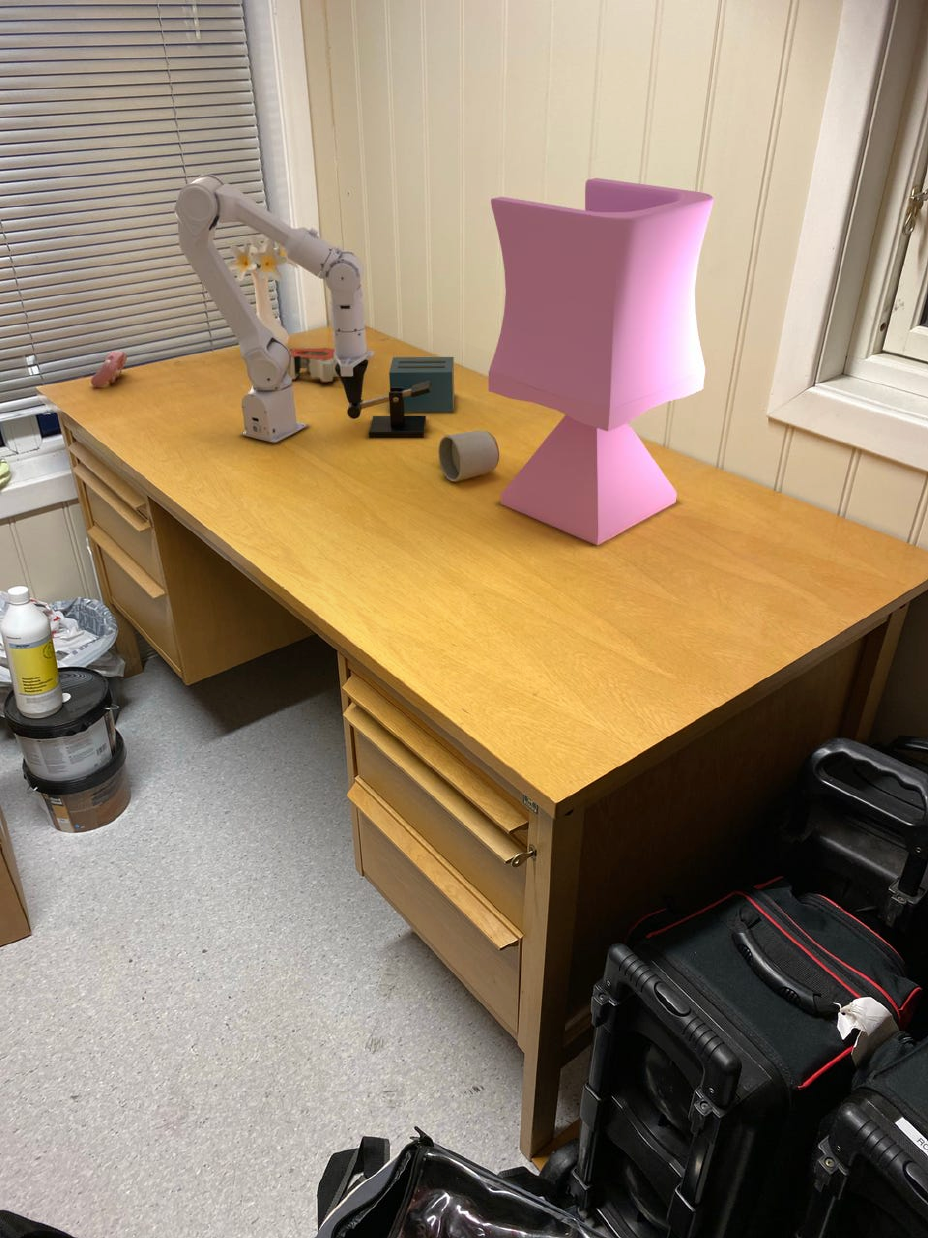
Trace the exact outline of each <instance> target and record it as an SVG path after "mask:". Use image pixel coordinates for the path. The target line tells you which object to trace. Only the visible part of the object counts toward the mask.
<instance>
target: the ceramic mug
mask: <svg viewBox="0 0 928 1238" xmlns="http://www.w3.org/2000/svg"><path fill="white" fill-rule="evenodd" d="M437 454H438V461H439V462H438V463H439V466H440V468H441V471H442V473H443V474H444V476H445V477H446V479H447V480H448V481H451V482H454V483H456V482H459V481H463V480H467V479H471V478H474V477H477V476H482V475H486V474H488V473H491V472H492V471H494V470H496V468H497V466H498V464H499V461H500V449H499V445H498V441H497V440H496V438H495V436H494V435H493V434H492V433H491V432H490V431H488V430H472V431H467V432H459V433H452V434H446V435H444V436H442V438H441V439H440V440H439V443H438V450H437Z"/></svg>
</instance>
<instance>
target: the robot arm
mask: <svg viewBox="0 0 928 1238" xmlns="http://www.w3.org/2000/svg"><path fill="white" fill-rule="evenodd" d="M173 211H174V214H175V217H176V223H177V234H178V244H179V247H180V250H181V252H182V254H183V255H184V257H185V259H186V260H187V262H188V263H189V265H190V267H191V268H192V269H193V271H194V273H195V274H196V276H197V277H198V279H199V281H200V283H201V284H202V286H203V288H205V291H206V292H207V294H208V295H209V297H210V299H211V300H212V302H213V303H214V305H215V306H216V308H217V310H218V311H219V313H220V314H221V316H222V317H223V319H224V321H225V323H226V324H227V325H228V327H229V329H230V330H231V332H232V333H233V336H235V338H236V339H237V342H238V344H239V350H240V357H241V358H242V360H243V362H244V363H245V366H246V373H247V376H248V379H249V381H250V383H251V387H250V388H251V389H250V390H249V391H248V393H246V394H245V395H244V396H243V397H242V398H241V399H242V400H241V410H242V416H243V424H244V430H245V431H243V432H242V436H244V437H248V438H252V439H256V440H260V441H264V442H268V443H272V444H277V443H279V442H280V441H282V440H284V439H286V438H288V437H290V436H292V435H293V434H296V433H298V432H299V431H301V430H304V429H305V428H307V427H308V423H305V422H301V421H297V414H296V405H295V403H296V402H295V395H294V388H293V379H291V377H290V376H289V374H288V372H287V369H288V368H289V366H290V364H291V353H290V351H289V350H290V349H289V347H288V345H287V346H286V345H285V344H283V343H282V342H280V341H279V340H278V339H277V338H276V337H275V336H274V334H273V332H272V331H271V330H269V329H268V328H266V327H265V326H264V325H263V324H262V322H261V321H260V319H259V317H258V316H257V312H256V311H255V309H254V308H253V306H252V304H251V303H250V301H249V299H248V298H247V296H246V295H245V293H244V291H243V289H242V288H241V286H240V285H239V282H238V281H237V279H236V278H235V276H234V275H233V272H232V270H229V268H228V266H227V265H226V263H227V262H226V261H225V260H224V258H223V256H222V255H221V253H220V252H219V250H218V248H217V246H216V245H215V244H214V238H215V234H216V231H217V227H218V223H219V224H226V223H241V224H243V225H244V226H246V227H249V228H250V229H252V230H253V231H255V232H257V233H259V234H260V235H263V236H264V237H266V238H269V239H271V240H273V241H274V243H275V244H276V243H278V244H280V245H282V246H283V247H284V248H285V251H286V254H287V257H288V259H290V260H292V261H293V262H295V263H296V264H297V266H299V267H301V268H303V270H306V271H307V272H309V273H310V274H312V275H314V276H315V277H317V278H318V279H320V280H324V282H325V284H326V287H327V289H329V292H330V302H329V303H330V312H331V313H330V314H331V324H332V325H331V327H332V336H333V346H334V347H333V349H335V352H334V358H335V360H336V361H337V362H338V363H337V364H336V366H335V371H336V373H337V374H338V377H339V379H340V381H341V383H342V386H343V389H344V394H345V396H346V399H347V401H348V404H350V403H360V401H361V399H362V396H363V385H364V378H365V374H366V371H367V369H368V365H369V360H368V358H369V359H370V358H374V355H375V351H374V350H372V349H370V350H369V349H368V348H367V347H368V346H367V333H366V331H367V330H366V316H365V304H364V303H365V301H364V298H363V289H362V284H361V281H362V279H363V275H364V267H363V264H362V261H361V260H360V258H359V257H357V256H356V255H355V254H354V252H352V251H349V250H344V248H342V247H341V246H339V245H338V246H334V245H333V244H332V243H330V242H328V241H326V240H325V239H323V238H322V237H321V236H319V235H318V234H319V231H318V230H317V229H315V228H313V227H311V228H310V229H308V228H306V227H305V226H301V227H298V228H293V227H291V226H290V225H289V224H287V223H286V222H285V221H283V220H281V219H280V218H278V217H277V216H276V215H274V214H273V213H271V212H270V211H269V210H267V209H266V208H264V207H263V206H262V205H260V204H259V203H257V202H256V201H254V199H252V198H250V197H249V196H247V195H246V194H245V193H243V192H242V191H241V190H239V189H238V188H237V187H236V186H234V185H232V184H231V183H228V182H224V181H223V180H222V179H221V178H220V177H218V176H216V175H213V174H208V173H207V174H201V175H200V176H198V177H197V178H196V179H195V180H194V181H192V182H190V183H187V184H185V185H184V186H182V188H181V189H180V190H179V192H178V195H177V198H176V201H175V203H174V207H173ZM284 248H283V249H284Z"/></svg>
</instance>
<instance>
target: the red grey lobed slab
mask: <svg viewBox="0 0 928 1238" xmlns="http://www.w3.org/2000/svg"><path fill="white" fill-rule="evenodd" d="M289 351H290V353H291V364H290V366H289V368H288V369H287V372H288V374H289V376H290V377H291V379H292V380H296V378H297V377H298V376H300V372H301V369H306V372H309V374H310V377H311V378H318V379H319V382H320V383H322V384H325V383H329V382H333V381H334V377H339V376H338V374H337V373H336V371H335V366H336V364H337V363H338V362H337V361H336V360H335V358H334V352H335V349H334V348H330V347H320V348H295V349H294V348H292V349H289Z"/></svg>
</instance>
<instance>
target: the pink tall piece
mask: <svg viewBox="0 0 928 1238" xmlns="http://www.w3.org/2000/svg"><path fill="white" fill-rule="evenodd" d="M584 186H585V188H584V209H580V208H579V209H578V208H573V207H567V206H560V205H554V204H548V203H542V202H537V201H530V200H525V199H518V198H511V197H507V196H497V197H494V198H492V197H491V199H490V205H491V210H492V215H493V219H494V222H495V226H496V230H497V235H498V240H499V244H500V250H501V257H502V263H503V271H504V283H505V284H504V286H505V288H504V289H505V295H504V297H505V298H504V308H503V309H504V310H503V317H502V321H501V328H500V333H499V336H498V340H497V343H496V348H495V351H494V354H493V357H492V360H491V364H490V366H489V370H488V392H490V393H493V394H496V395H498V396H502V397H506V398H507V399H510V400H516V401H523V402H528V403H533V404H536V405H538V406H541V407H545V408H548V409H551V410H555V411H557V412H559V413H561V414H563V415H564V416H563V417H562V418H561V420H560V421H559V422H558V424H557V425H556V426H555V427H554V428H553V429H552V431H551V432H550V433H549V435H548V436H547V437H546V438H545V440H543V442H541V444H540V446H539V447H538V448H537V450H535V452H534V453H533V454H532V455H531V456H530V457H529V459H528V460H527V461H526V462H525V464H524V465H523V466H522V468H521V469H520V470H519V471H518V473H517V474H516V475H515V476H514V477H513V478H512V480H511V481H510V482H509V483H508V485H507V486H506V487H505V488H504V490H503V491H502V492H501V493H500V505H502V506H505V507H508V508H510V509H512V510H514V511H517V512H519V513H521V514H524V515H526V516H528V517H531V518H533V519H536V520H537V521H540V522H542V523H544V524H546V525H548V526H551V527H554V528H556V529H558V530H561V531H562V532H565V533H567V534H570V535H572V536H575V537H577V538H579V539H581V540H584V541H585V542H589V543H590V544H593V545H596V546H600V545H601V544H603V543H605V542H606V541H608V540H610V539H612V538H614V537H615V536H618V535H619V534H621V533H623V532H625V531H627V530H628V529H631V528H632V527H634V526H636V525H638V524H639V523H641V522H643V521H644V520H646V519H648V518H650V517H653V516H654V515H656V514H657V513H659V512H661V511H663V510H665V509H666V508H668V507H671V505H673V504H675V503H676V501H677V494H678V493H677V491H676V489H675V488H674V486H673V485H672V483H671V482H670V480H669V479H668V478H667V476H666V475H665V474H664V471H662V469H661V468H660V467H659V465H658V463H657V462H656V460H655V459H654V458H653V456H652V454H651V453H650V452H649V451H648V449H647V448H646V447H645V444H644V443H643V442H642V441H641V439H640V438H639V436H638V435H637V433H636V432H635V430H634V429H633V427H632V426H631V425H630V423H631V422H632V421H633V420H635V419H637V418H638V417H640V416H641V415H643V414H645V413H646V412H648V411H649V410H651V409H655V408H657V407H658V406H661V405H663V404H665V403H668V402H671V401H674V400H679V399H683V398H686V397H688V396H691V395H693V394H696V393H697V392H700V391H702V390H704V384H705V375H706V367H705V363H704V358H703V357H704V356H703V353H702V349H701V344H700V339H699V338H700V337H699V332H698V326H697V315H696V292H695V291H696V281H697V272H698V265H699V264H698V263H699V259H700V254H701V250H702V245H703V241H704V237H705V233H706V229H707V226H708V222H709V219H710V215H711V211H712V208H713V205H714V199H715V198H714V197H713V196H712V195H711V194H709V193H707V192H700V191H695V190H688V189H680V188H675V187H674V188H673V187H667V186H659V185H651V184H644V183H637V182H629V181H622V180H616V179H608V178H600V177H594V178H588V179H586V180H585V185H584Z"/></svg>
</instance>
